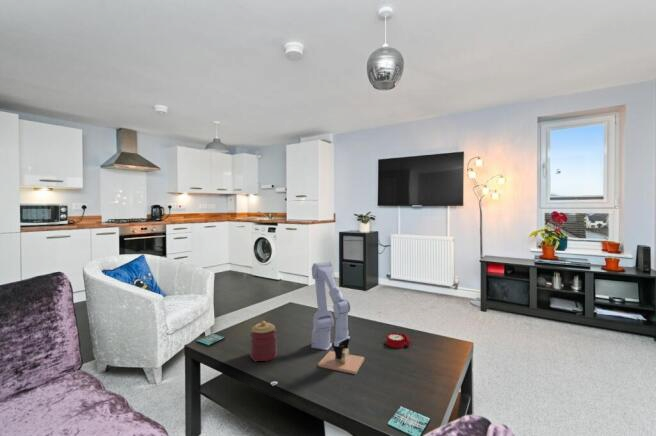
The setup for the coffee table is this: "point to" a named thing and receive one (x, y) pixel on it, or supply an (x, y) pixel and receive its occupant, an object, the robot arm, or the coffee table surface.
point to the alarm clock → (397, 340)
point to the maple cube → (343, 356)
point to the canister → (263, 342)
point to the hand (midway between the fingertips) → (341, 355)
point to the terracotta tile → (349, 367)
